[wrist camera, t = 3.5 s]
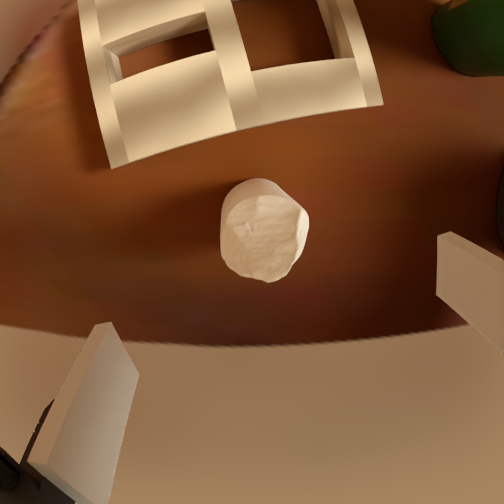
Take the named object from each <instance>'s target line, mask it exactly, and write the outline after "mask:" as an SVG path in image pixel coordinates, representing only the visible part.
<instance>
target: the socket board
mask: <svg viewBox="0 0 504 504" xmlns="http://www.w3.org/2000/svg"><path fill="white" fill-rule="evenodd" d="M235 1H241V0H78V9H79V18H80V25H81V33H82V39H83V46H84V52H85V58H86V63H87V69H88V74H89V79H90V84H91V89H92V94H93V99H94V103H95V108H96V112H97V116H98V120H99V124H100V129H101V133H102V136H103V140H104V144H105V148H106V152H107V155H108V159H109V162H110V166H111V169H113V168H117V167H120V166H124V165H128V164H130V163H133V162H136V161H139V160H142V159H145V158H148V157H151V156H154V155H157V154H160V153H163V152H166V151H170V150H173V149H176V148H179V147H183V146H186V145H189V144H193V143H196V142H200V141H203V140H207V139H211V138H214V137H218V136H222V135H226V134H230V133H234V132H238V131H242V130H246V129H250V128H255V127H259V126H264V125H268V124H273V123H278V122H283V121H288V120H293V119H298V118H303V117H309V116H315V115H321V114H327V113H333V112H340V111H347V110H354V109H362V108H368V107H373V106H379V105H384V104H383V99H382V95H381V91H380V86H379V82H378V78H377V74H376V71H375V67H374V63H373V60H372V56H371V53H370V49H369V46H368V42H367V39H366V36H365V33H364V30H363V27H362V24H361V21H360V18H359V15H358V12H357V9H356V6H355V4H354V1H353V0H316V1H317V4H318V7H319V9H320V12H321V15H322V18H323V21H324V24H325V27H326V31H327V34H328V37H329V40H330V43H331V47H332V50H333V54H334V57H335V59H332V60H322V61H313V62H305V63H298V64H291V65H285V66H279V67H273V68H267V69H262V70H257V71H252V72H251V70H250V66H249V63H248V59H247V55H246V52H245V48H244V45H243V41H242V38H241V34H240V31H239V27H238V24H237V20H236V17H235V13H234V10H233V7H232V3H231V2H235ZM205 29H208V31H209V35H210V38H211V42H212V46H213V49H214V51H211V52H207V53H203V54H199V55H195V56H192V57H188V58H185V59H181V60H178V61H174V62H171V63H168V64H165V65H162V66H159V67H156V68H153V69H150V70H147V71H144V72H141V73H139V74H136V75H133V76H131V77H128V78H125V79H123V77H122V72H121V67H120V63H119V58H118V57H121V56H123V55H126V54H129V53H131V52H134V51H136V50H139V49H142V48H145V47H148V46H151V45H153V44H156V43H159V42H163V41H166V40H169V39H172V38H176V37H179V36H182V35H186V34H190V33H193V32H197V31H201V30H205Z"/></svg>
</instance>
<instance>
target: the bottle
mask: <svg viewBox="0 0 504 504" xmlns="http://www.w3.org/2000/svg"><path fill="white" fill-rule="evenodd" d="M432 27H433V35H434V39H435V41H436V43H437V45H438V47H439V49H440V51H441V53H442V55H443V57H444V58H445V59H446V60H447V61H448V62H449V63H450V64H451V65H452V66H453V67H454V68H455V69H456V70H457V71H458V72H461V73H463V74H466V75H468V76H471V77H483V76H504V0H451V1H449V2H447V3H446V4H444V5H442V6H440V7H439V8H437V10H436V12H435V14H434V16H433V18H432Z"/></svg>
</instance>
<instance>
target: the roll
mask: <svg viewBox="0 0 504 504" xmlns="http://www.w3.org/2000/svg"><path fill="white" fill-rule="evenodd" d="M308 229H309V217H308V214H307V212H306V211H305V210H304V209H303V208H302V207H301V206H300V205H299V204H298V203H297V202H296V201H294V200H293V199H292V198H291V197H290V196H288V195H287V194H286V193H285V192H284V191H283V190H282V189H281V188H280V187H279V186H278V185H277V184H275V183H274V182H272V181H270V180H267V179H262V178H255V179H249V180H246V181H244V182H242V183H240V184H238V185H236V186H235V187H234V188H233V189H231V190H230V192H229V193H228V194H227V196H226V198H225V200H224V202H223V205H222V212H221V229H220V248H221V255H222V258H223V259H224V260H225V263H226V264H227V266H228V267H229V268H230V269H231V270H233V271H235V272H236V273H238V274H239V275H240V276H243V277H251V278H254V279H259V280H263V281H265V282H267V283H269V282H273V281H277V280H279V279H280V278H282V277H284V276H286V275H287V273H288V272H289V271H290V269H291V267H292V265H293V264H294V263H295V261H296V260H297V259H298V258H299V257H300V255H301V253H302V251H303V248H304V245H305V241H306V237H307V232H308Z"/></svg>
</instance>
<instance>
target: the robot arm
mask: <svg viewBox="0 0 504 504" xmlns="http://www.w3.org/2000/svg"><path fill="white" fill-rule="evenodd" d="M497 222H498V229H499V234H500V237H501V240H502V242H503V244H504V171H503V174H502V178H501V182H500V186H499V192H498V200H497ZM436 295H437V296H438V297H440V298H441V299H442V300H443V301H444V302H445V303H446V304H448V305H449V306H450V307H451V308H452V309H453V310H454V311H456V312H457V313H458V314H459V315H460V316H461V317H462V318H463V319H465V320H466V321H467V322H468V323H469V324H470V325H471V326H472V327H473V328H475V330H477V331H478V332H479V333H480V334H481V335H482V336H483V337H484V338H485V339H486V340H487V341H488V342H489V343H491V345H492V346H494V347H495V348H496V349H497V350H498V351H499V352H500V353H501V354H502V355H503V356H504V260H502V259H501V258H499V257H497V256H496V255H494V254H492V253H490V252H488V251H487V250H485V249H483V248H481V247H479V246H478V245H476V244H474V243H472V242H470V241H468V240H466V239H465V238H463V237H461V236H459V235H457V234H455V233H453V232H451V231H450V232H447V233H444V234H441V235H438V236H437V284H436ZM139 375H140V374H139V372H138V371H137V369H136V367H135V365H134V364H133V362H132V360H131V358H130V357H129V355H128V353H127V351H126V349H125V347H124V345H123V344H122V342H121V340H120V338H119V336H118V334H117V332H116V330H115V328H114V326H113V324H112V322H107V323H102V324H97V325H95V326H94V328H93V330H92V331H91V333H90V335H89V337H88V338H87V340H86V342H85V344H84V346H83V347H82V349H81V351H80V353H79V354H78V356H77V358H76V360H75V362H74V364H73V365H72V367H71V369H70V371H69V373H68V375H67V377H66V379H65V381H64V382H63V384H62V386H61V388H60V390H59V392H58V394H57V396H56V398H55V399H54V400H53V401H52V402H51V403H50V404H49V405H48V406H47V407H46V408H45V410H44V412H43V414H42V416H41V418H40V420H39V423H38V424H37V426H36V428H35V432H34V433H33V435H32V437H31V439H30V441H29V443H28V446H27V448H26V450H25V452H24V455H23V457H22V459H21V462H20V464H18V463H17V462H16V461H15V460H14V459H13V458H12V457H11V456H10V455H9V454H8V453H7V452H6V451H5V450H4V449H2V448H1V447H0V504H75V502H76V503H78V504H109V499H110V494H111V489H112V485H113V480H114V475H115V470H116V466H117V461H118V457H119V452H120V448H121V444H122V439H123V436H124V432H125V427H126V424H127V420H128V416H129V412H130V408H131V405H132V401H133V397H134V393H135V389H136V386H137V382H138V379H139Z"/></svg>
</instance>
